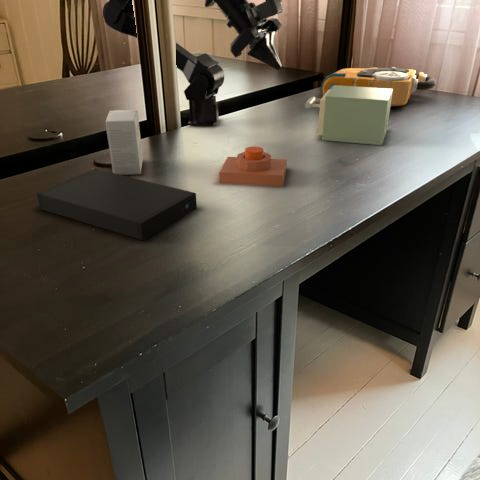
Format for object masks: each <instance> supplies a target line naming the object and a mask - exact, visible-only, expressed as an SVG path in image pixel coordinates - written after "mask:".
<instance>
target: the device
mask: <svg viewBox="0 0 480 480" xmlns="http://www.w3.org/2000/svg"><path fill="white" fill-rule="evenodd" d="M436 84H437V81H436V78H435V77H433V76H428V74H427V73H424V72H422V71H420V72H419V73H416V70H415V69H409V68H408V69H407V68H400V67H399V68H398V67H395V66H392V67H367V68H363V67H347V68H341V69H340V70H337V71H335V72H333V73H331V74H329V75H327V76H326V77H325V78H324V79H323V81H322V83H321V86H320V92H321V96H322V97H323V96H324V95H325V93H326V92H327V91H328V90H331V89H332V88H333V87H334V85H339V86H356V87H372V88H389V89H393V92H392V100H391V106H390V108H391V107H399V106H406V105H407V104H408V100H410V97H411V95H413V94H414V92H417V91H424V90H431V89H433V88H434V87H435V86H436Z"/></svg>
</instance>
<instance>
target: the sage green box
mask: <svg viewBox="0 0 480 480" xmlns="http://www.w3.org/2000/svg"><path fill="white" fill-rule="evenodd" d="M392 92H393V89H389V88H372V87H356V86H339V85H334V87H333V88H332V89H331V90H330V92H329V93H328V94H327V95H326V97H325V109H324V121H323V134H322V135H321V136H322V137H321V141H328V142H329V141H330V142H339V143H340V142H342V143H349V144H350V143H351V144H362V145H373V146H374V145H375V146H382V145H383V143H384V140H385V137H386V135H387V132H388V125H389V121H390V120H389V119H390V113H391V107H390V106H391V100H392Z"/></svg>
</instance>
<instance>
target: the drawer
mask: <svg viewBox="0 0 480 480" xmlns="http://www.w3.org/2000/svg"><path fill="white" fill-rule="evenodd" d="M329 92H330V90H328V91H327V92H326V93H325V95H324V96H322V97H321V98H317V97H315V96H310V98H308V100H307V101H306V102H305V103H304V108H306V109H310V108H319V110H318V111H319V112H318V126H317V128H318V129H317V135H318V136H322V134H323V121H324V109H325V97H326V95H327V94H328V93H329Z"/></svg>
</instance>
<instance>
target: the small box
mask: <svg viewBox="0 0 480 480" xmlns="http://www.w3.org/2000/svg"><path fill="white" fill-rule="evenodd" d="M104 124H105V129H106V135H107V137H106V138H107V142H108V149H109V155H110V156H109V157H110V162H111V168H112V173H115V174H119V175H123V176H128V175H129V176H131V175H133V176H134V175H141V174H142V167H143V161H144V157H143V148H142V139H141V130H140V122H139V112H138V110H137V109H124V110H123V109H118V110H109V112H108V114H107V117H106V119H105V123H104Z"/></svg>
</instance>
